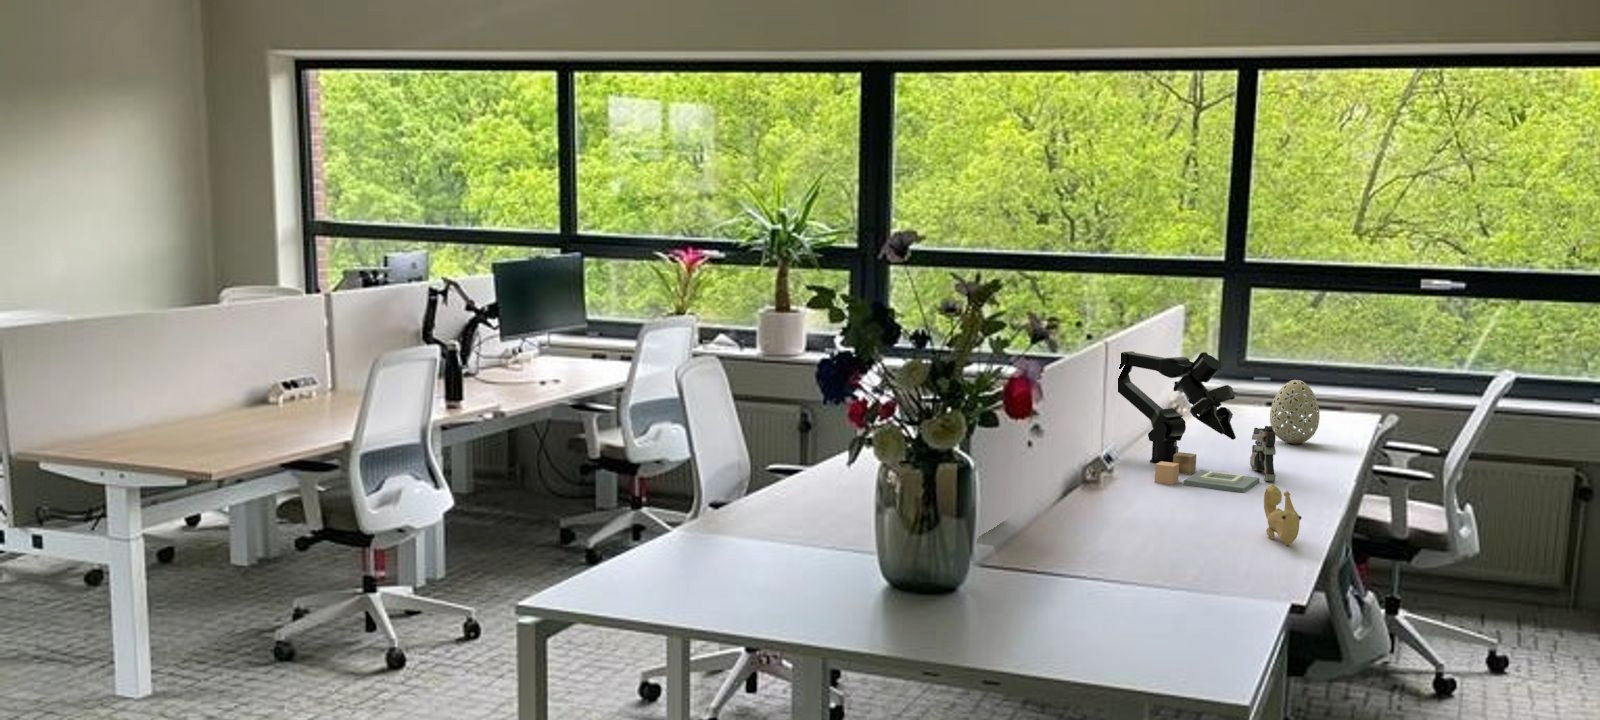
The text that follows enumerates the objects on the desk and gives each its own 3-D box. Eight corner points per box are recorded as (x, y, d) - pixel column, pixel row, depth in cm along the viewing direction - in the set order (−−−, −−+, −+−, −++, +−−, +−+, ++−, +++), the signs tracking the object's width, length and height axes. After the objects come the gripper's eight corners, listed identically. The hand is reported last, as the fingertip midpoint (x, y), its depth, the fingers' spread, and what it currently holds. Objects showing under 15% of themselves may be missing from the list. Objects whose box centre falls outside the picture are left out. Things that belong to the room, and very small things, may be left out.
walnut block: (1172, 472, 402) (1173, 454, 401) (1177, 469, 406) (1178, 452, 405) (1190, 474, 399) (1191, 457, 398) (1195, 471, 403) (1196, 454, 403)
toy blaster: (1260, 479, 410) (1262, 426, 411) (1278, 481, 389) (1279, 426, 390) (1247, 478, 410) (1248, 426, 411) (1264, 480, 390) (1265, 425, 390)
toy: (1280, 479, 337) (1309, 498, 317) (1277, 530, 339) (1306, 551, 319) (1257, 479, 337) (1285, 497, 317) (1255, 529, 339) (1281, 551, 319)
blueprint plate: (1183, 484, 385) (1183, 477, 385) (1200, 474, 399) (1201, 467, 399) (1243, 492, 377) (1244, 485, 377) (1259, 481, 391) (1259, 474, 390)
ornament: (1322, 442, 451) (1326, 379, 448) (1311, 449, 439) (1315, 385, 436) (1275, 437, 459) (1278, 375, 456) (1262, 444, 446) (1266, 380, 444)
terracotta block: (1154, 482, 388) (1155, 464, 387) (1160, 479, 392) (1161, 461, 392) (1172, 484, 385) (1173, 466, 385) (1178, 481, 390) (1179, 463, 389)
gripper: (1208, 368, 394) (1241, 412, 386) (1230, 381, 409) (1263, 424, 401) (1176, 393, 398) (1208, 437, 390) (1199, 405, 413) (1231, 448, 405)
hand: (1228, 436), depth 396 cm, fingers open, 9 cm apart
